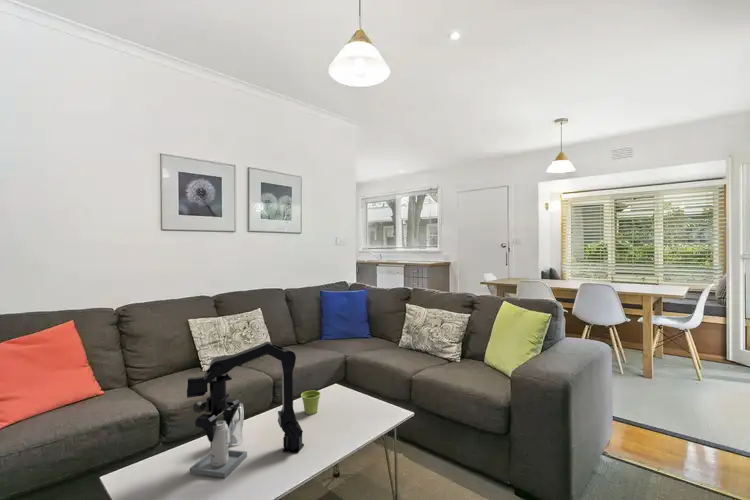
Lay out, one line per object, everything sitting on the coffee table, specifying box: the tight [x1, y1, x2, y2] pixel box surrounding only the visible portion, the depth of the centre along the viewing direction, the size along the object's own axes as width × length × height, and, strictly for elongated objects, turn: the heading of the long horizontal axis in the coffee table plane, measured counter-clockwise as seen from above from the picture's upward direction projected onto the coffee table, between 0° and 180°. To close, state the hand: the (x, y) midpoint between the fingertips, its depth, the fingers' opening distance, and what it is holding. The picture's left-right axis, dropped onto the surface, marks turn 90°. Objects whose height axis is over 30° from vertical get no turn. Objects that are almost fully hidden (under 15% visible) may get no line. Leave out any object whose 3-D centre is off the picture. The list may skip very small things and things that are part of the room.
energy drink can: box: [210, 419, 229, 468], centre depth 138 cm, size 6×6×15 cm
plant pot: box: [300, 390, 322, 415], centre depth 183 cm, size 9×9×9 cm
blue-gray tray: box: [188, 449, 248, 480], centre depth 138 cm, size 14×14×2 cm
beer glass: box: [228, 402, 245, 447], centre depth 155 cm, size 7×7×15 cm
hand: (218, 435), depth 138 cm, fingers open, 9 cm apart
